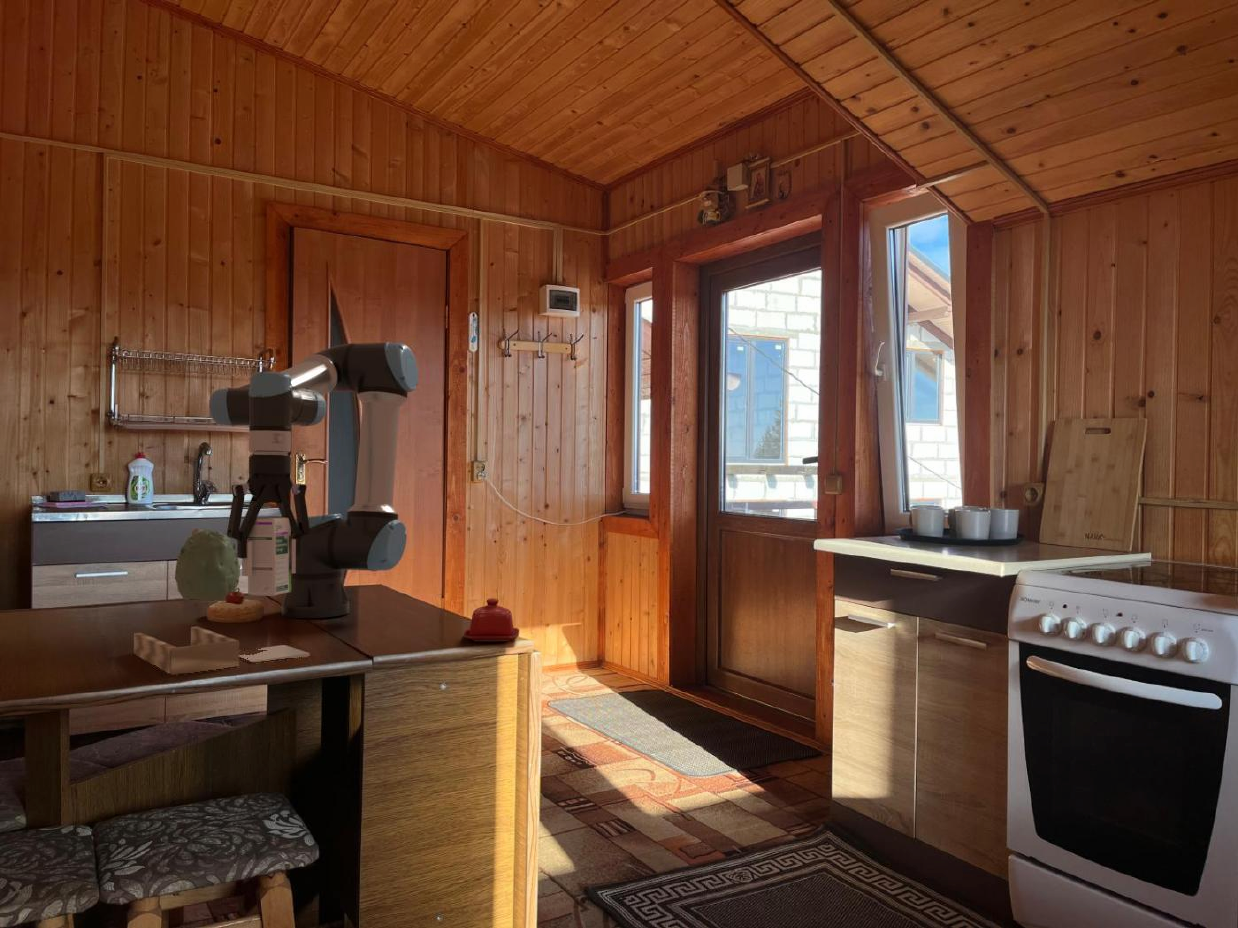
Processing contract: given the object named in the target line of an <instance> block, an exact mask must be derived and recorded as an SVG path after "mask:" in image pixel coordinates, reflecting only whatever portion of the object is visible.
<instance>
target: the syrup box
mask: <svg viewBox="0 0 1238 928" xmlns="http://www.w3.org/2000/svg"><path fill="white" fill-rule="evenodd" d="M247 541H252V576H250V577H247V593H248V594H247V595H249V596H259V597H261V596H263V597H276V596H278V595H283V594H284V595H285V594H286V593H288V592H291V526H290V522H289V519H288V518H286V517H282V516H269V517H267V516H266V517H257V518H256V521H255V523H254V526H253V528H252V530H251V533H250V535H249V538H248V540H247Z"/></svg>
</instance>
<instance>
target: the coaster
mask: <svg viewBox="0 0 1238 928" xmlns="http://www.w3.org/2000/svg"><path fill="white" fill-rule="evenodd" d="M260 648H261V649H258V650H267V651H263V652H260V653H257V654H254V655H252V654H251V655H245V654H244V655H239V657H241V658H244V659H246V660H249V661H250V662H261V661H270V660H276V659H285V658H295V659H302V658H309V657H308V656H310V655H311V653H310V652H307V651H304V650H302V649H298V648H295V647H292V646H288V645H285V644H280V645H274V646H266V647H260ZM299 657H300V658H299ZM301 657H302V658H301ZM247 658H248V659H247Z"/></svg>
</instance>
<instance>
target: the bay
mask: <svg viewBox="0 0 1238 928" xmlns="http://www.w3.org/2000/svg"><path fill="white" fill-rule="evenodd" d="M239 651H240V640H238V639H235V638H231V637H228V636H226V635H223V634H220V633H217V632H214V631H211V630H208V629H205V628H203V627H200V626H191V627H190V645H185V646H177V647H176V646H175V645H172V644H169V643H167V642H165V641H162V640H160V639H157V638H155V637H153V636H150V635H147V634H145V633H142V632H137V633H135V632H134V634H133V654H134V655H135V656H137V657H139V658H141V659H142V660H143V661H145V662H147V661H148V663H150V664H151V665H153V666H154V665H156V666H157V667H159V668H160V669H159V668H158V669H159V670H161V669H162V670H161V671H163V670H164V671H165V672H164V671H163V672H164V673H166V672H167V673H166V674H168V673H170V674H172V675H173V674H179V673H191V674H195V673H194V672H199V673H201V672H200V671H207V672H209V671H208V670H214V671H217V670H216V669H222V670H224V669H223V668H228V667H234V666H239V667H240V658H239ZM156 666H155V667H156ZM157 667H156V668H157Z"/></svg>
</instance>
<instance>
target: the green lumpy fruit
mask: <svg viewBox="0 0 1238 928" xmlns="http://www.w3.org/2000/svg"><path fill="white" fill-rule="evenodd" d="M235 549H236V543H234V544H232V542H231V538H230V537H228V536H227V533H225V534H224V533H222V532H220V531H217V530H211V529H202V528H194V529H193V530H192V533H191V536H190V537H188V538H187V540H186V541H185V542H184V544H183V546H182V547H181V548H180V552H179V554H178V555H177V559H176V564H175V570H174V571H175V572H174V573H175V574H174V579H175V583H176V586H177V592H178V593H179V594H180V595H181V597H182V599H184V601H186V600H189V599H200V600H194V601H214V600H225V597H226V595H227V594H228V593H230V592H234V591H235V589H237V588H238V585H239V582H240V575H241V565H240V564H239V558H238V556H237V551H236V550H235Z"/></svg>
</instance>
